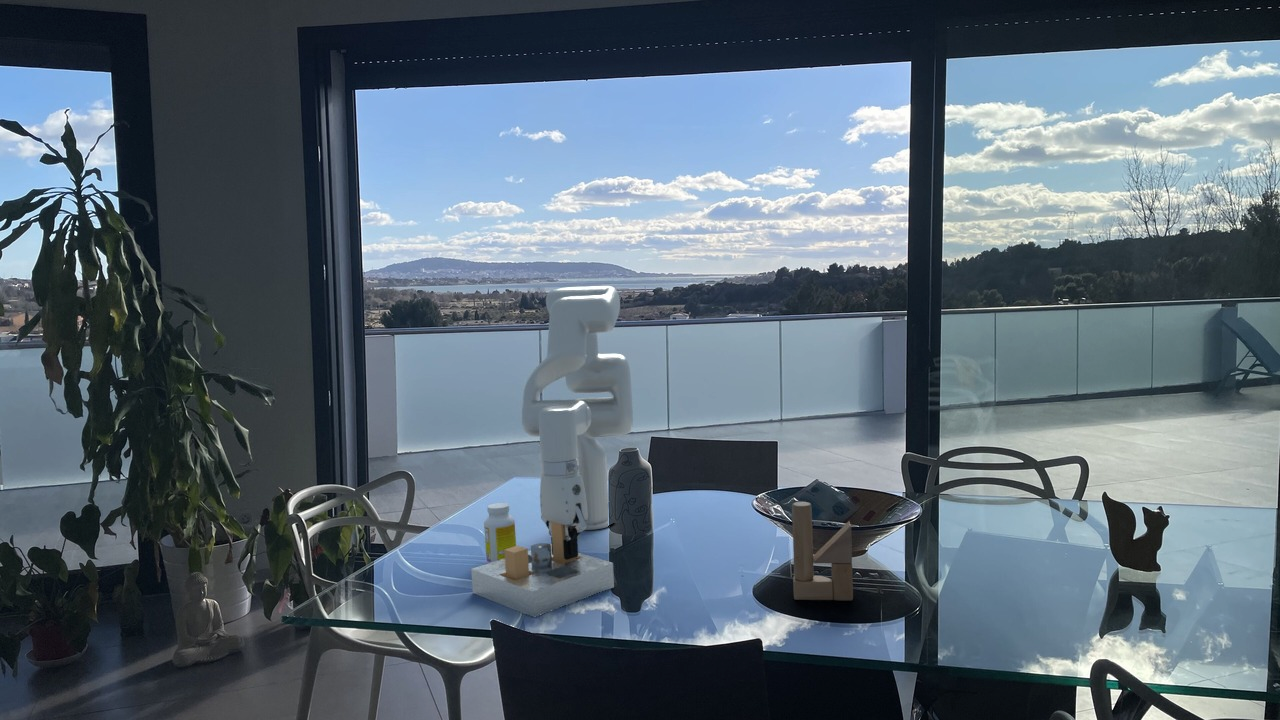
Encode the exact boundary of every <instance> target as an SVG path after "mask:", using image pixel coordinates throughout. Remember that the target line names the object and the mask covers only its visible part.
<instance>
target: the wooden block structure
mask: <svg viewBox="0 0 1280 720" xmlns="http://www.w3.org/2000/svg"><path fill="white" fill-rule="evenodd" d="M791 509H792V510H791V513H792V515H791V517H792V519H791V520H792V547H793V574H794V575H793V576H792V581H793V585H792V586H793V599H794V600H795V601H796V600H797V601H847V602H848V601H849V602H851V601H853V599H854V587H853V585H854V583H853V582H854V580H853V579H854V578H853V577H854V576H853V555H852V554H853V550H852V549H853V547H852V543H853V542H852V525H851V522H850V520H848V522H845V524H844V525H843V526H841V528H840V529H839V530H838V531H837V532H836V533H835V534H834V535H833V536H832V537H831V538H830V539H829V540H828V541H826V543H825V544H824V545H823V546H822V547H821V548H820V549H818V550H817V551H816V553H815V554H814V544H813V543H814V542H813V541H814V540H813V510H812V509H813V506H812V504H811V503H810V502H807V501H795V502H793V503H792V505H791ZM814 564H831V578H829V577H826V576H823V575H815V573H814Z"/></svg>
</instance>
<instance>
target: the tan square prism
mask: <svg viewBox="0 0 1280 720" xmlns="http://www.w3.org/2000/svg"><path fill="white" fill-rule="evenodd" d="M572 528H573V527H570V531H571V530H572ZM551 530H552V536H551V537H552V543H551V545H552V544H553V558H554V561H555V562H559V563H562V564H565V563H568V562H571V561H574V560H576V557H574V558H571V559H568V560H566V559H565V558H564V542H563V540H566V539H565V533H564V525H562V524H559V523H556V522H552V521H551Z"/></svg>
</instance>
